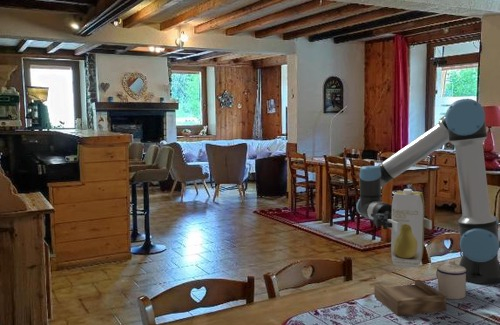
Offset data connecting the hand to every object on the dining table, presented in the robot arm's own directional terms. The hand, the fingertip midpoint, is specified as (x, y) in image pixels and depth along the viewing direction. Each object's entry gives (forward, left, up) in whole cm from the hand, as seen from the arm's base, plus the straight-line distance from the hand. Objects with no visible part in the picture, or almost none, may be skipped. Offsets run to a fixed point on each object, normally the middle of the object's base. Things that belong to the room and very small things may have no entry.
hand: (414, 226), depth 151 cm
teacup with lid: (-17, -9, -26) cm, 33 cm away
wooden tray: (0, -4, -26) cm, 26 cm away
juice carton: (0, -4, -13) cm, 14 cm away
